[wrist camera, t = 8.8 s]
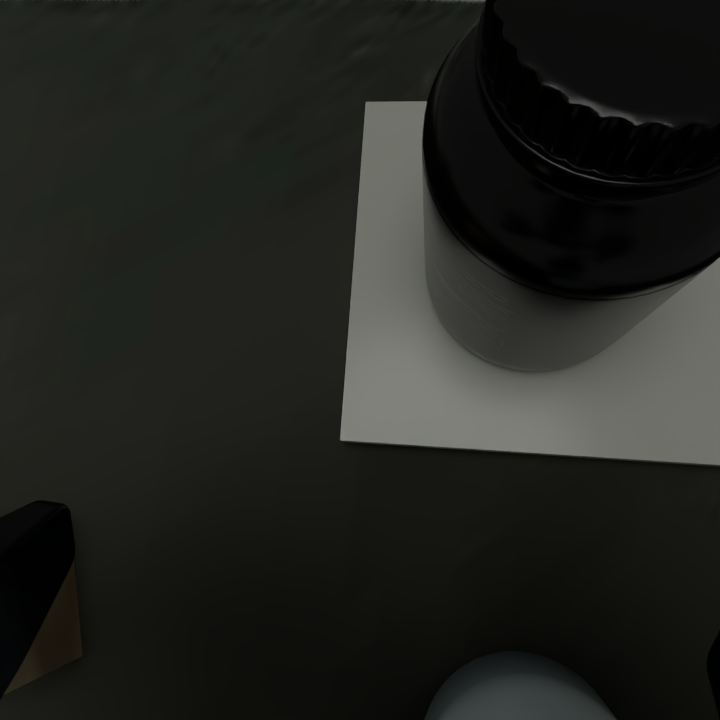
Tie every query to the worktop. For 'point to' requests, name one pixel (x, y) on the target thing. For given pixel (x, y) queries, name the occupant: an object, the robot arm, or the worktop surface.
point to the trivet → (497, 383)
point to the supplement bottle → (570, 173)
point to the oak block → (54, 637)
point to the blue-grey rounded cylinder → (516, 691)
